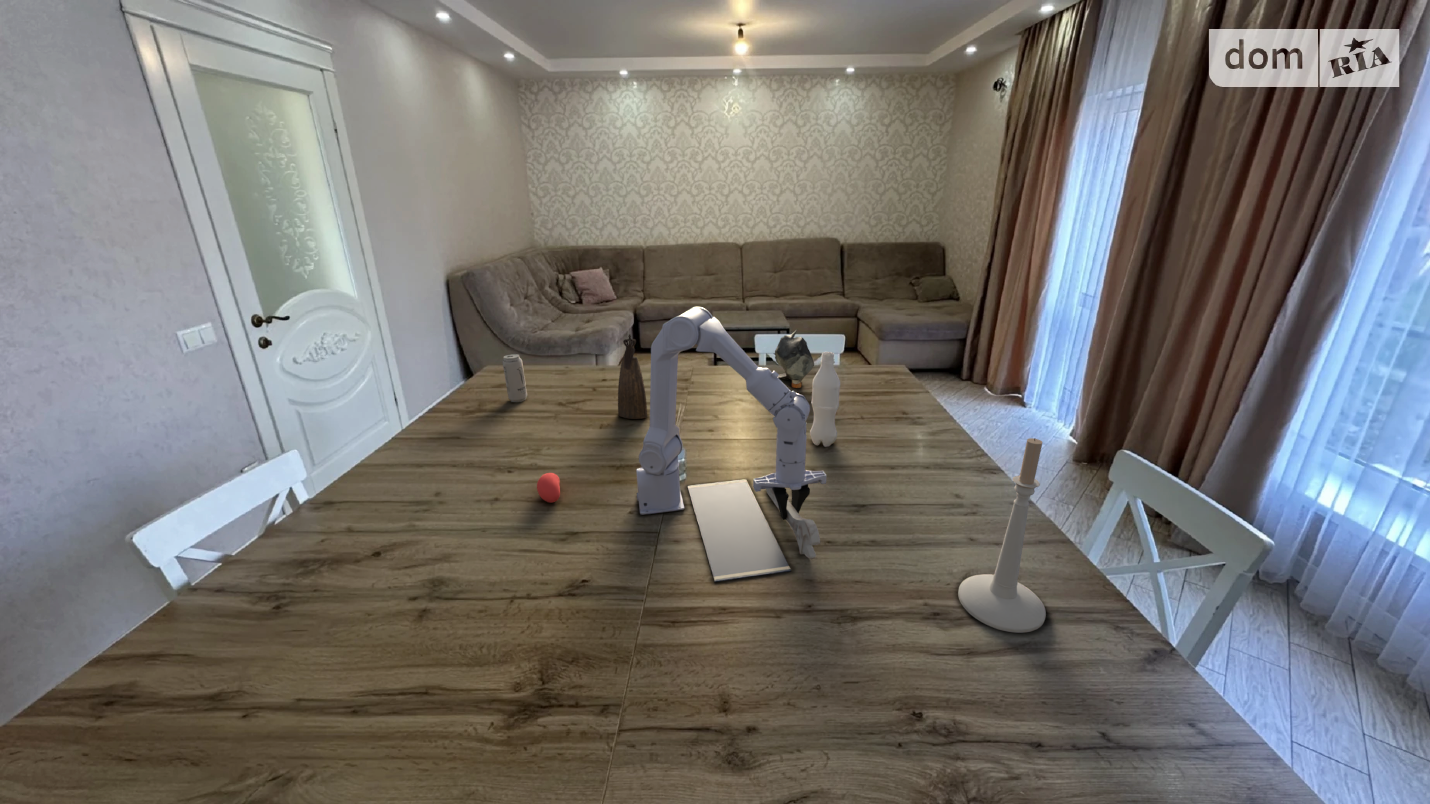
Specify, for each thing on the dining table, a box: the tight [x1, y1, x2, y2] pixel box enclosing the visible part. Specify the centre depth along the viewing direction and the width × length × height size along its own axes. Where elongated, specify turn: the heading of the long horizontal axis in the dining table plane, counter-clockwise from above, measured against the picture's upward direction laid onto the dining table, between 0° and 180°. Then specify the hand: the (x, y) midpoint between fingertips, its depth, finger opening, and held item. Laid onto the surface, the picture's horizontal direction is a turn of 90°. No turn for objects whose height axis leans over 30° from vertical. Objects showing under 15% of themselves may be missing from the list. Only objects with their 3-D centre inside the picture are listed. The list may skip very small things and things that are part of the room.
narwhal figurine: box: [774, 328, 815, 389], centre depth 189 cm, size 14×15×18 cm
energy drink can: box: [502, 353, 528, 403], centre depth 180 cm, size 6×6×15 cm
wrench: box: [765, 488, 821, 560], centre depth 111 cm, size 8×2×30 cm
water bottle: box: [809, 351, 841, 448], centre depth 144 cm, size 7×7×25 cm
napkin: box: [687, 478, 792, 583], centre depth 113 cm, size 14×34×1 cm, turn 11°
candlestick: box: [957, 437, 1047, 634], centre depth 85 cm, size 13×13×30 cm
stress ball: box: [536, 472, 561, 504], centre depth 124 cm, size 5×9×6 cm, turn 4°
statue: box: [617, 334, 648, 420], centre depth 163 cm, size 9×8×25 cm
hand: (788, 516), depth 112 cm, fingers closed on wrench, 2 cm apart
